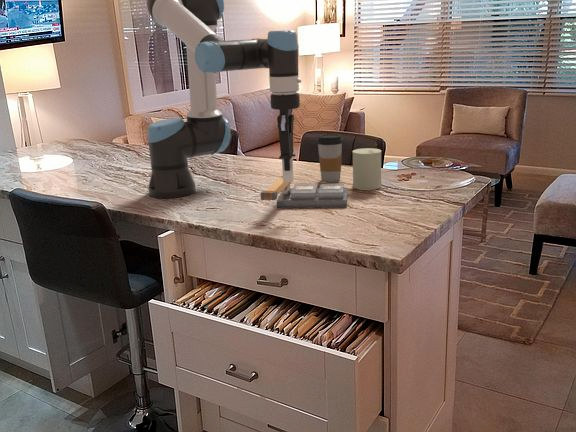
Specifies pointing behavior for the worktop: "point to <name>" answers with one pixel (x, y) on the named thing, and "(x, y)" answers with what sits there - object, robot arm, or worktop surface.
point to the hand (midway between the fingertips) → (288, 181)
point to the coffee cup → (330, 157)
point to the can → (367, 169)
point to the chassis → (313, 196)
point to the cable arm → (274, 190)
